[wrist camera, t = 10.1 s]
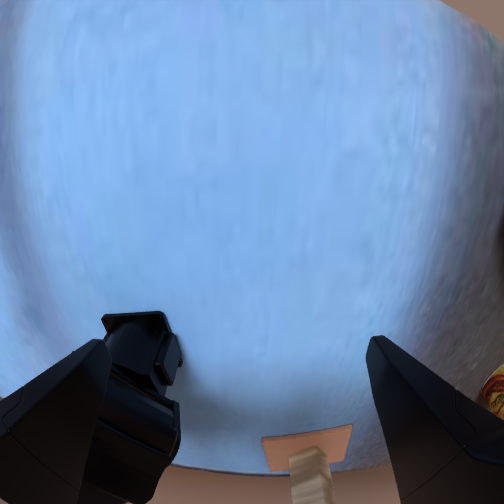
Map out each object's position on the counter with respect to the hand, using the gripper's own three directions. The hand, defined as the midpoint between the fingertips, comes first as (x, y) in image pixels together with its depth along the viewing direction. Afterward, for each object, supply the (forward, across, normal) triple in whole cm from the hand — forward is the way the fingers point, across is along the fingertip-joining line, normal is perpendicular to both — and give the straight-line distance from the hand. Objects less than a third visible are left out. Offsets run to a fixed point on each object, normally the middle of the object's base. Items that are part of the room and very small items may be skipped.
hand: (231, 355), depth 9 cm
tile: (+12, -7, +34) cm, 37 cm away
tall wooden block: (+12, -7, +34) cm, 37 cm away
